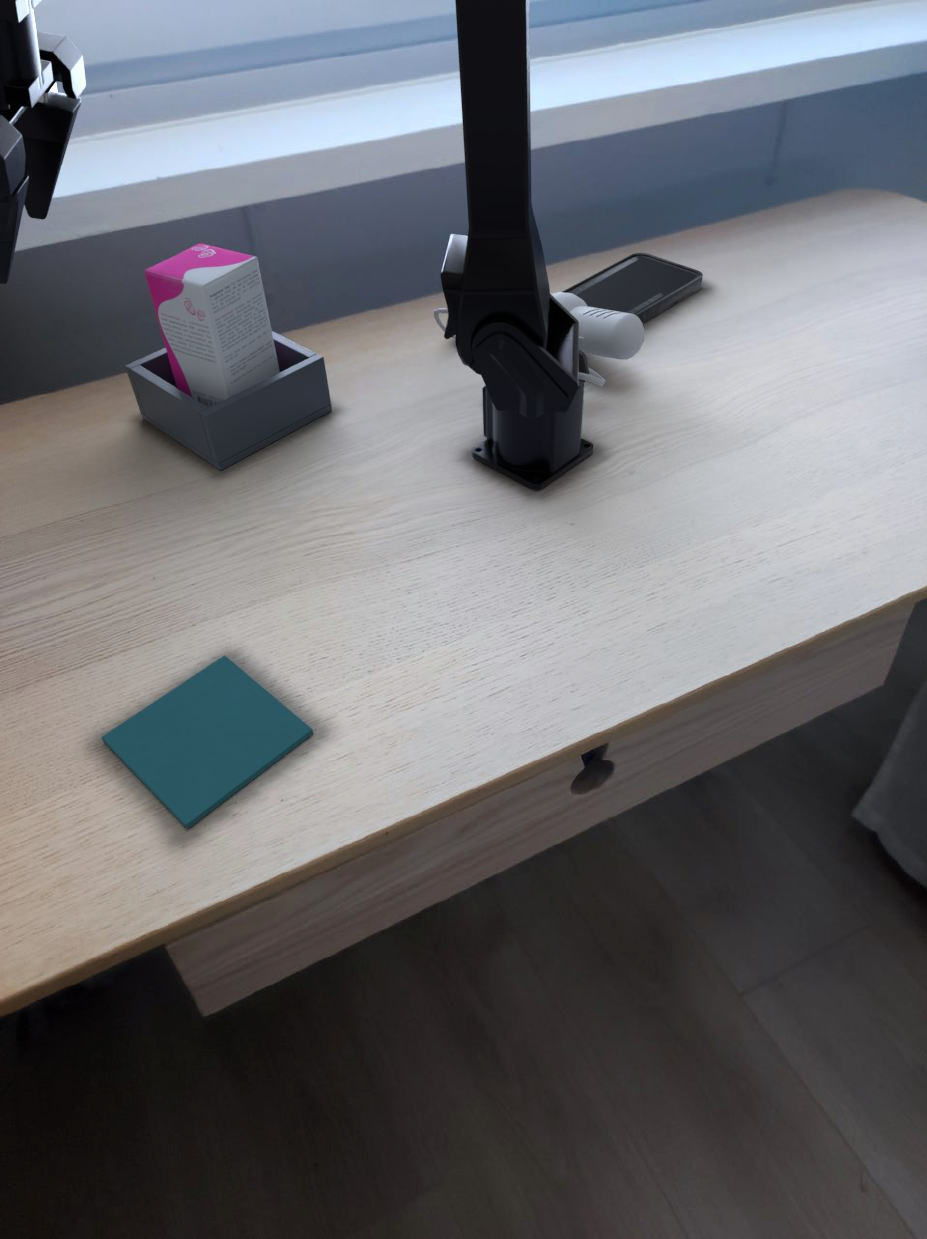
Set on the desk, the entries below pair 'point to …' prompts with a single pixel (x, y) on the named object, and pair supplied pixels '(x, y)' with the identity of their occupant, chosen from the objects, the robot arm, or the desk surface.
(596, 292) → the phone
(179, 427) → the grey open box
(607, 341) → the clip-on lamp
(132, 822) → the desk surface
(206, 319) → the supplement box
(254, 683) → the counter mat
